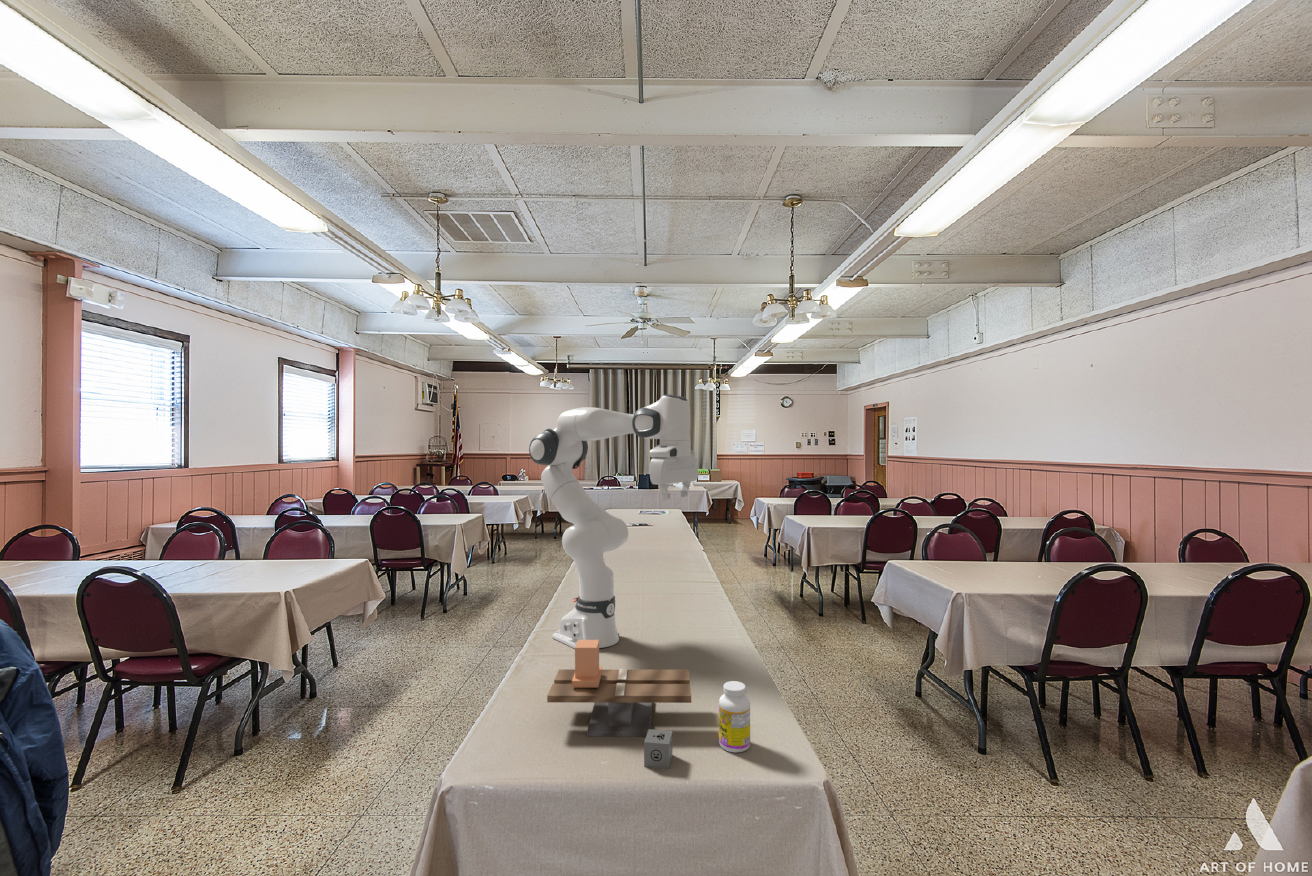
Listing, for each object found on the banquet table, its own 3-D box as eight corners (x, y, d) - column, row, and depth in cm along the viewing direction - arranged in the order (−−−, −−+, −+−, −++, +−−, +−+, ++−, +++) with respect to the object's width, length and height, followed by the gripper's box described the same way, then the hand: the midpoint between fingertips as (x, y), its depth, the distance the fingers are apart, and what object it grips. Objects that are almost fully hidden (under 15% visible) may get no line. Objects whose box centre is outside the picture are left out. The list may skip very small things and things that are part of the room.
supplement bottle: (716, 737, 124) (716, 679, 124) (746, 736, 124) (745, 678, 124) (722, 755, 117) (722, 693, 117) (753, 753, 118) (753, 691, 117)
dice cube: (668, 769, 112) (668, 744, 112) (644, 766, 113) (644, 742, 113) (672, 755, 117) (672, 731, 117) (648, 753, 118) (648, 729, 118)
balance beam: (546, 736, 124) (546, 696, 124) (559, 701, 140) (559, 667, 140) (691, 736, 124) (691, 697, 124) (688, 702, 140) (688, 667, 140)
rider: (571, 693, 128) (571, 650, 128) (577, 678, 136) (577, 637, 136) (598, 693, 128) (598, 650, 128) (602, 678, 136) (601, 637, 136)
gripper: (685, 449, 174) (685, 494, 174) (645, 451, 157) (646, 500, 158) (703, 449, 170) (703, 495, 170) (664, 451, 154) (664, 502, 154)
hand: (675, 498), depth 164 cm, fingers open, 8 cm apart
